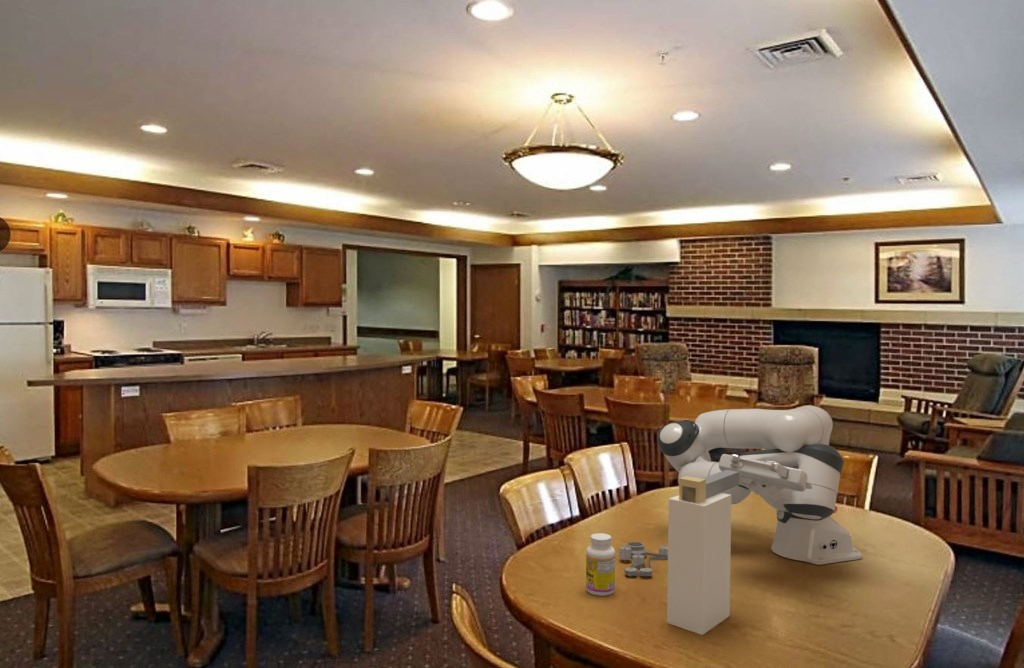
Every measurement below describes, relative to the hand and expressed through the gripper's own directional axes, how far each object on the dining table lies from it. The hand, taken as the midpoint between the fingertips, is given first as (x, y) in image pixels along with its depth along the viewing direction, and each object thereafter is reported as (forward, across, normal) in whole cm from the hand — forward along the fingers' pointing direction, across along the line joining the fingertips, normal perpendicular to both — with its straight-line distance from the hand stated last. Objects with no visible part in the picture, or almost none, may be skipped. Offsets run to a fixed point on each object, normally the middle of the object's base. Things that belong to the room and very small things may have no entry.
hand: (753, 461), depth 163 cm
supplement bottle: (+6, +24, -39) cm, 47 cm away
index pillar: (+6, +1, -37) cm, 38 cm away
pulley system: (-17, +25, -28) cm, 41 cm away
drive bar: (+14, +2, -12) cm, 19 cm away
